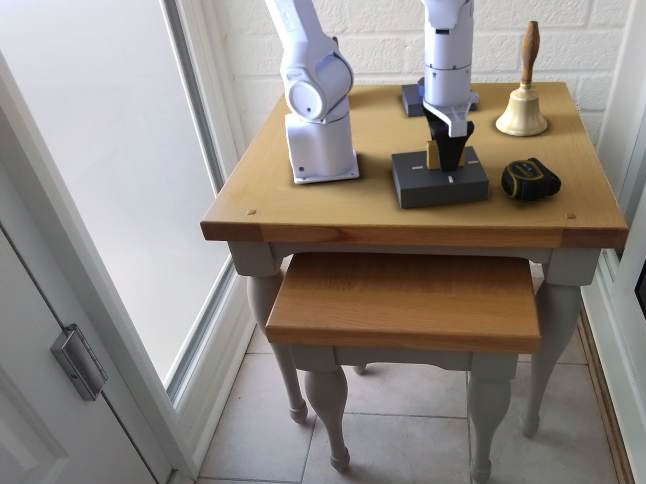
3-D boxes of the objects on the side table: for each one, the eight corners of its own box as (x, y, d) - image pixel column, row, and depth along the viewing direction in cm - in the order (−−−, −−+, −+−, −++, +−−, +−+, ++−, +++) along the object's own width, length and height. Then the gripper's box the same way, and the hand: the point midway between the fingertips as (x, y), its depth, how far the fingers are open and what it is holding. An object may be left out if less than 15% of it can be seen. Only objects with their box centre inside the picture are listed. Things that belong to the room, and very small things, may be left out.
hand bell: (486, 121, 91) (494, 20, 80) (526, 110, 93) (539, 11, 82) (515, 141, 85) (527, 34, 74) (557, 129, 87) (575, 24, 77)
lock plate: (400, 208, 72) (400, 188, 70) (392, 172, 80) (391, 152, 78) (488, 199, 73) (489, 179, 71) (471, 164, 80) (472, 144, 78)
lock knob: (428, 169, 74) (428, 144, 71) (426, 164, 75) (426, 139, 72) (464, 166, 74) (465, 140, 71) (461, 161, 75) (463, 135, 72)
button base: (408, 116, 94) (407, 94, 91) (401, 96, 100) (400, 75, 98) (475, 110, 94) (476, 87, 92) (464, 90, 101) (465, 69, 98)
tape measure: (561, 200, 72) (565, 176, 69) (515, 211, 70) (518, 186, 68) (535, 176, 77) (538, 153, 74) (491, 186, 75) (493, 162, 73)
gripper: (496, 80, 60) (486, 186, 69) (467, 40, 70) (462, 136, 80) (433, 86, 59) (432, 192, 68) (414, 44, 70) (415, 140, 79)
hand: (445, 162), depth 74 cm, fingers open, 4 cm apart
